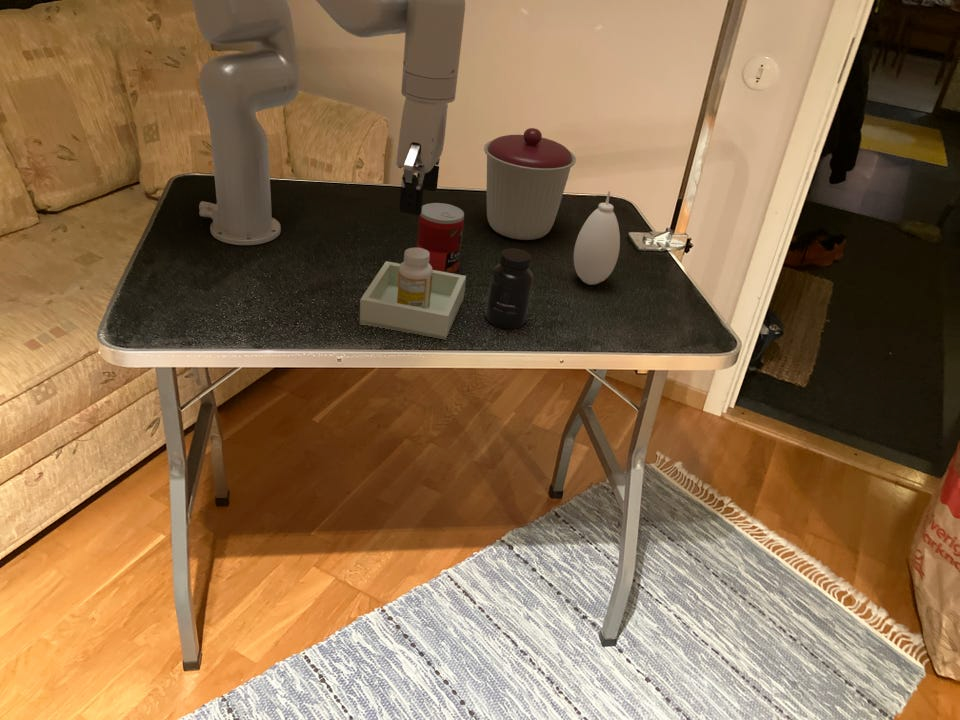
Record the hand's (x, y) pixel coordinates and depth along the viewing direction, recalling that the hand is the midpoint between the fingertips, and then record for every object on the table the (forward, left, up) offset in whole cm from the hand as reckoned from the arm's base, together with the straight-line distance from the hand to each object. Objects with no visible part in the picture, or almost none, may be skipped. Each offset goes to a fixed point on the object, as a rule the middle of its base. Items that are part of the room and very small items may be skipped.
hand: (418, 200), depth 113 cm
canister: (+13, +40, -19) cm, 46 cm away
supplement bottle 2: (+15, +3, -19) cm, 25 cm away
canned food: (0, +17, -19) cm, 26 cm away
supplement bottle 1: (0, 0, -19) cm, 19 cm away
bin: (+1, 0, -19) cm, 19 cm away
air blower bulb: (+29, +22, -19) cm, 41 cm away
